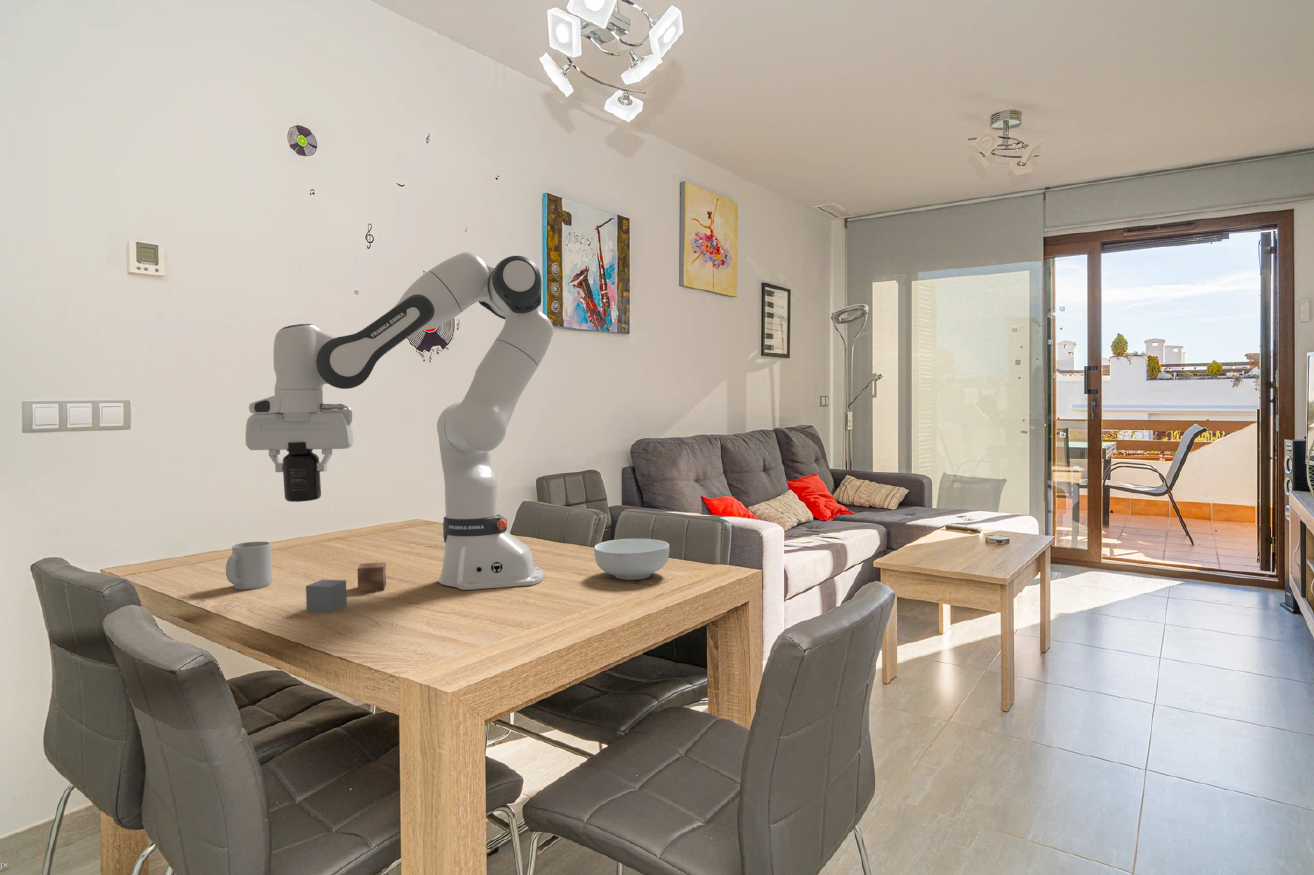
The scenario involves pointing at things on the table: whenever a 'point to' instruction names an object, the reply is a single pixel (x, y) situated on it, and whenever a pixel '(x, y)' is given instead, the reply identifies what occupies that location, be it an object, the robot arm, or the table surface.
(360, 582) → the walnut block
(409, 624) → the table surface
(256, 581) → the cup
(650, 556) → the cereal bowl
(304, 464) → the supplement bottle
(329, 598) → the charcoal block
